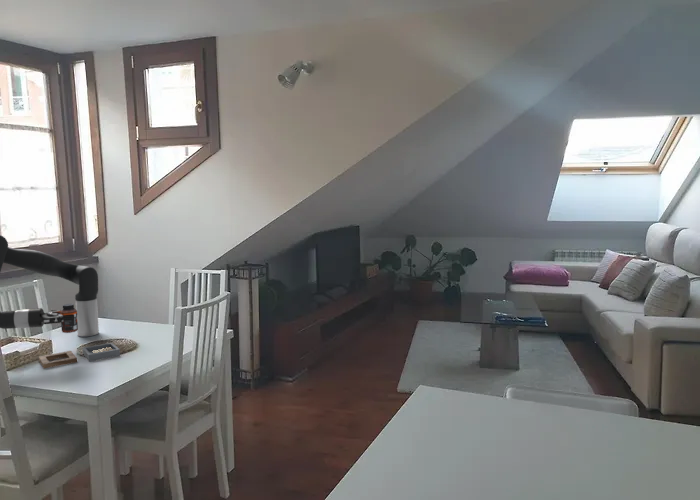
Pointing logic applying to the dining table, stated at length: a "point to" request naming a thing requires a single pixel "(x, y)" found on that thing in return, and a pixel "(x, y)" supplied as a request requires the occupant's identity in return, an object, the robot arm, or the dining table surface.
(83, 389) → the dining table surface
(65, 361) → the walnut holder
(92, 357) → the parts tray
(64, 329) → the supplement bottle
